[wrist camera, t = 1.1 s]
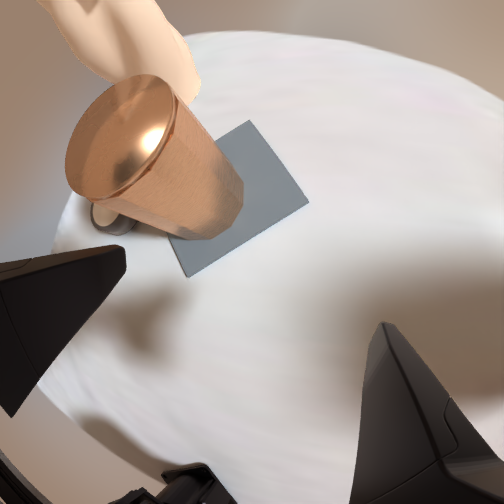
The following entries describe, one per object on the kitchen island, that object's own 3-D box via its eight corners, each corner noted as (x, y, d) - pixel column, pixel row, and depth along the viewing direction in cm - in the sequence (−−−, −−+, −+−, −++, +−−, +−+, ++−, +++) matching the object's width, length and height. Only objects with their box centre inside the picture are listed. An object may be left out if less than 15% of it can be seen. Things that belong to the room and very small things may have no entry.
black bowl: (117, 245, 27) (96, 240, 24) (106, 209, 28) (86, 201, 25) (151, 219, 26) (131, 210, 23) (136, 183, 27) (117, 172, 24)
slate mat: (189, 277, 24) (187, 277, 24) (149, 190, 26) (148, 189, 26) (309, 202, 22) (308, 201, 22) (250, 121, 25) (249, 119, 24)
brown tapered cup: (185, 256, 24) (75, 226, 12) (155, 190, 26) (60, 134, 14) (260, 208, 23) (194, 128, 11) (219, 144, 25) (149, 56, 13)
